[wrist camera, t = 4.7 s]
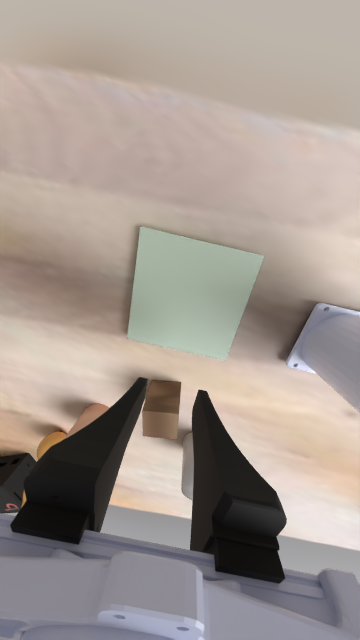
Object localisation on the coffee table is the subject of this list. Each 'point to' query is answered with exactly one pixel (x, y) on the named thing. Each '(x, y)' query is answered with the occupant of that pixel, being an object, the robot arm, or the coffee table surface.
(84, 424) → the pink rounded capsule
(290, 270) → the coffee table surface
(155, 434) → the walnut block
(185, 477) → the grey stone cylinder
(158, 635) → the robot arm
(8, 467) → the electronic device
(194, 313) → the sage board
